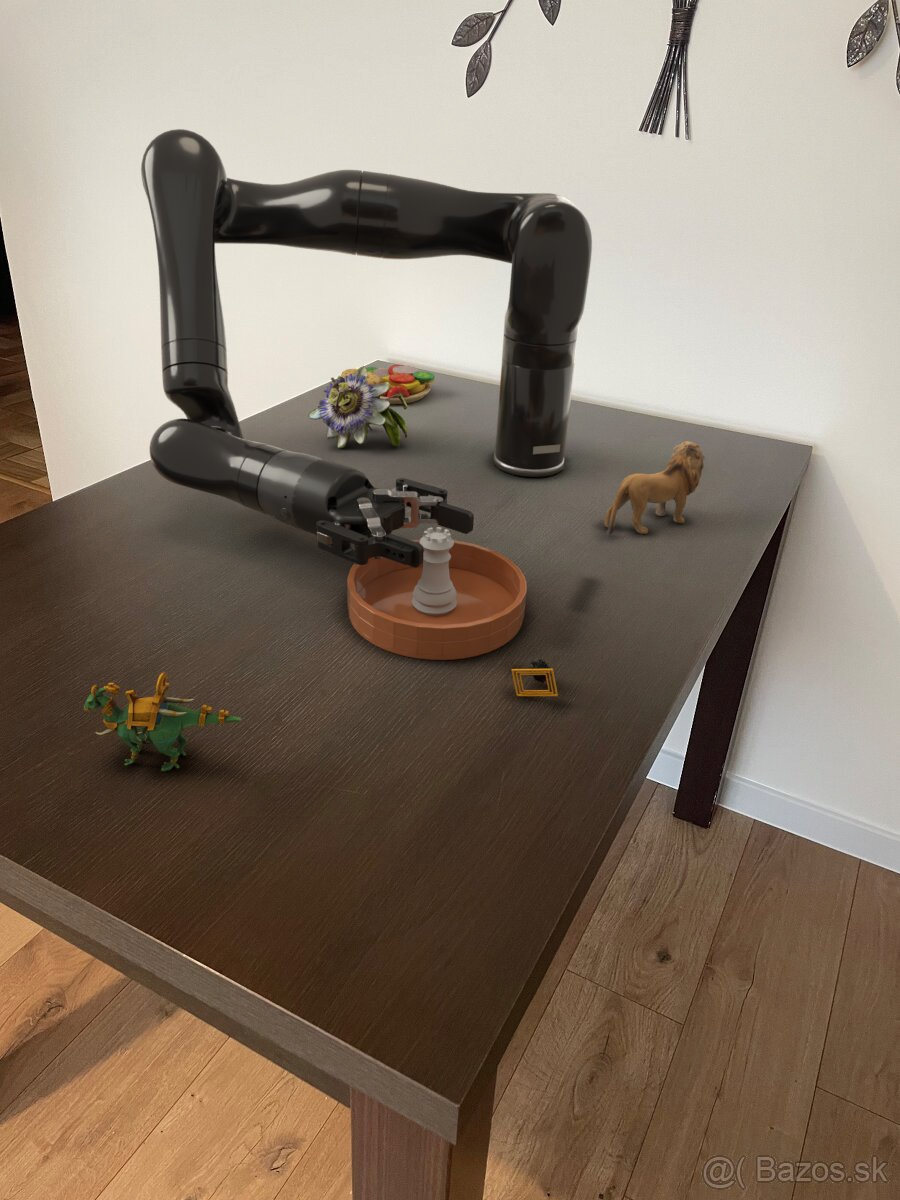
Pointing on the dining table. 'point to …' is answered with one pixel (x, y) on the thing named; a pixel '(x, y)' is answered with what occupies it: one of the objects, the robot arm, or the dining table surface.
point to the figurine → (152, 719)
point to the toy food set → (399, 382)
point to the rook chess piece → (435, 575)
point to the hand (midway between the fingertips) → (447, 539)
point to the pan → (469, 630)
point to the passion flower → (358, 409)
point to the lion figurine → (660, 487)
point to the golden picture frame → (539, 674)
